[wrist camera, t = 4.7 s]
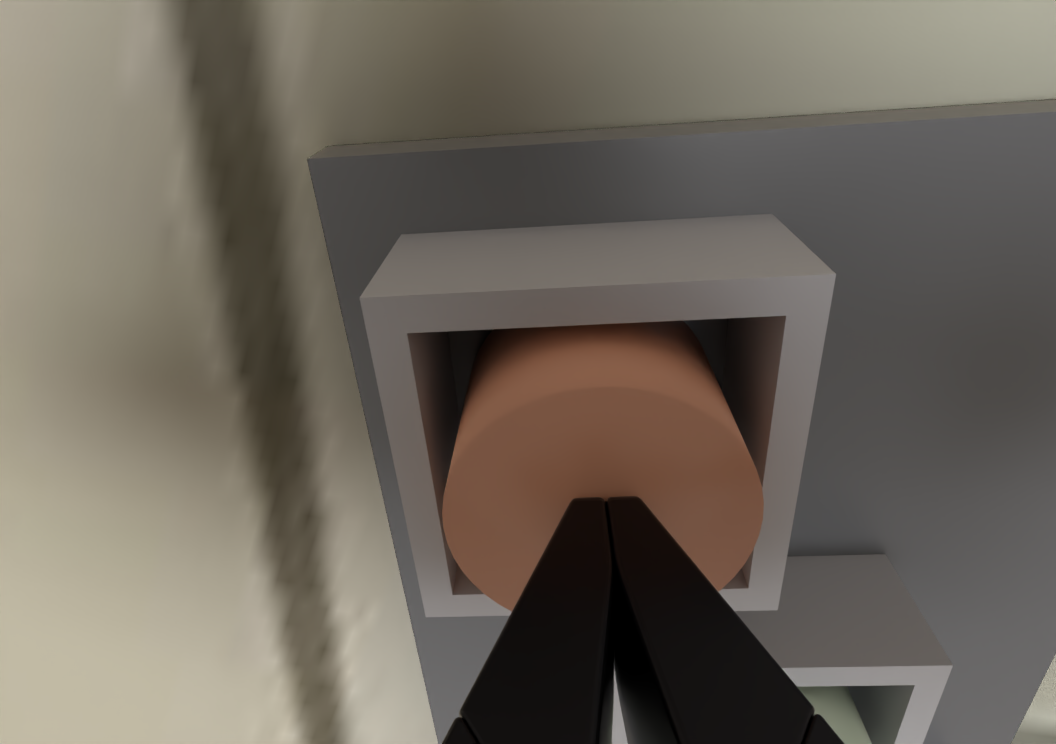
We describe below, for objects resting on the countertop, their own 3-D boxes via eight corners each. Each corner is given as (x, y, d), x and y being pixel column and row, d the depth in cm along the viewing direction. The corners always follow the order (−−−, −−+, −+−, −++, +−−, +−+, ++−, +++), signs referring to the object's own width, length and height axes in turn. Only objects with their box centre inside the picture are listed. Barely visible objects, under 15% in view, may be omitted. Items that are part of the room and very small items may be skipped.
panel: (1263, 85, 10) (1596, 123, 6) (921, 853, 20) (986, 1003, 17) (328, 146, 10) (233, 204, 7) (474, 852, 21) (461, 995, 18)
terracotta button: (720, 278, 10) (783, 379, 7) (703, 488, 12) (746, 628, 9) (454, 292, 10) (420, 394, 7) (481, 495, 12) (461, 634, 9)
